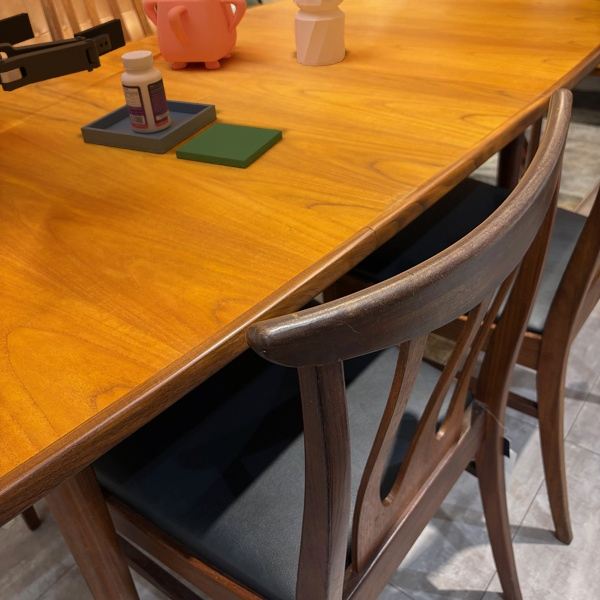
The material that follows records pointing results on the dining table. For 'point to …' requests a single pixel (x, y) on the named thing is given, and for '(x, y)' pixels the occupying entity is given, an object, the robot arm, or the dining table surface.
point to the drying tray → (121, 134)
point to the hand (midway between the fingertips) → (73, 28)
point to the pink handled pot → (195, 29)
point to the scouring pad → (229, 145)
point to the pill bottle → (144, 93)
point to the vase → (319, 32)
